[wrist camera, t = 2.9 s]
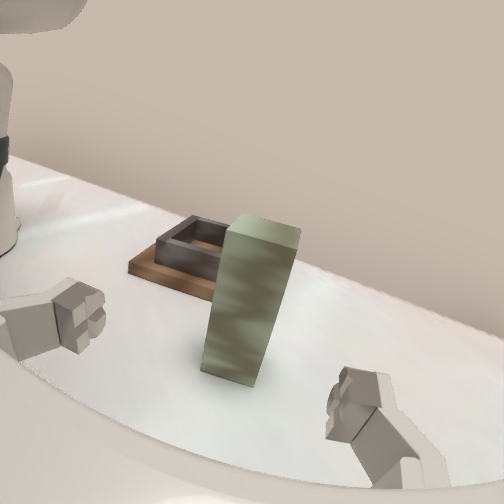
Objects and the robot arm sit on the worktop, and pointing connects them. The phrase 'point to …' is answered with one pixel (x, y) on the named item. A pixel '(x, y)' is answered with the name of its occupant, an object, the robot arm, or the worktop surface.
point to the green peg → (248, 296)
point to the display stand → (184, 257)
